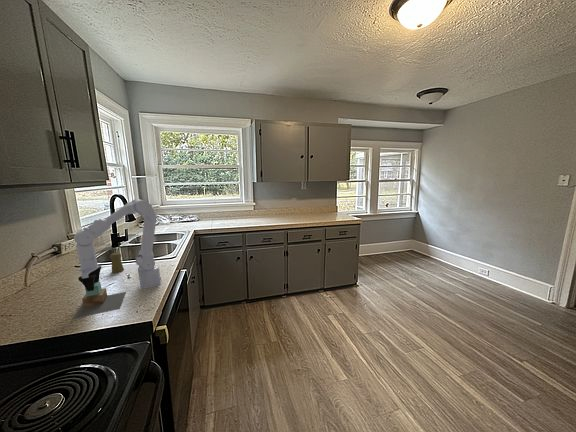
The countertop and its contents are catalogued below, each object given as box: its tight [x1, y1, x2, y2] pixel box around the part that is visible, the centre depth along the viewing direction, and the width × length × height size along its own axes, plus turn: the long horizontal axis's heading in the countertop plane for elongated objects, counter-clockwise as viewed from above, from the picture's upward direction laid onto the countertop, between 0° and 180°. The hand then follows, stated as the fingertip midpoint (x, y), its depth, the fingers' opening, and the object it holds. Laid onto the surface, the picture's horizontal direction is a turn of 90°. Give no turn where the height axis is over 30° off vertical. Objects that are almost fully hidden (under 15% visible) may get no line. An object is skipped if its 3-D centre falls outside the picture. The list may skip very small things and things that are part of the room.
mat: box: [71, 291, 127, 320], centre depth 106 cm, size 16×16×1 cm
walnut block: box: [81, 287, 108, 307], centre depth 108 cm, size 7×7×4 cm
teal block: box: [84, 281, 103, 297], centre depth 107 cm, size 4×4×4 cm
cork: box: [109, 252, 125, 274], centre depth 140 cm, size 6×6×11 cm
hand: (93, 286), depth 107 cm, fingers open, 7 cm apart
